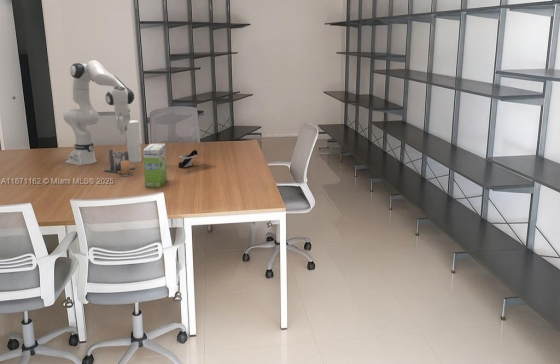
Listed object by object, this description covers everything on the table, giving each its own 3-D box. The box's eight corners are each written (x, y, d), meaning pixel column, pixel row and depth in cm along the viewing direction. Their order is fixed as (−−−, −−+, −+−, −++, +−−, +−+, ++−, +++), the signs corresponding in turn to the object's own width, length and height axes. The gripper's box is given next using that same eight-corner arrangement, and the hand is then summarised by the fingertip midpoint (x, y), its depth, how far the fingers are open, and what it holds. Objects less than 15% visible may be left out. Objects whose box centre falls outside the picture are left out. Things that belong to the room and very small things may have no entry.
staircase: (178, 168, 375) (177, 151, 371) (190, 165, 382) (189, 148, 378) (186, 170, 369) (185, 153, 365) (198, 167, 376) (197, 150, 372)
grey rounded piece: (116, 176, 354) (116, 175, 353) (125, 172, 361) (125, 171, 361) (127, 177, 350) (126, 176, 350) (135, 174, 358) (135, 173, 358)
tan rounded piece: (117, 175, 352) (115, 162, 350) (118, 173, 358) (117, 160, 355) (133, 175, 354) (132, 161, 351) (134, 172, 359) (133, 159, 356)
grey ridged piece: (104, 171, 364) (102, 151, 360) (118, 166, 377) (116, 147, 373) (121, 174, 358) (120, 153, 354) (135, 169, 371) (133, 149, 367)
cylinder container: (138, 162, 388) (134, 122, 380) (126, 162, 390) (122, 121, 381) (143, 159, 397) (140, 119, 388) (132, 159, 399) (128, 119, 390)
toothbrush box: (161, 187, 328) (158, 149, 321) (144, 187, 328) (141, 149, 321) (168, 179, 345) (165, 143, 338) (152, 179, 345) (149, 143, 338)
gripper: (122, 115, 337) (125, 136, 342) (130, 108, 357) (132, 129, 361) (112, 115, 337) (115, 136, 342) (120, 109, 356) (123, 129, 361)
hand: (124, 132), depth 352 cm, fingers open, 8 cm apart
